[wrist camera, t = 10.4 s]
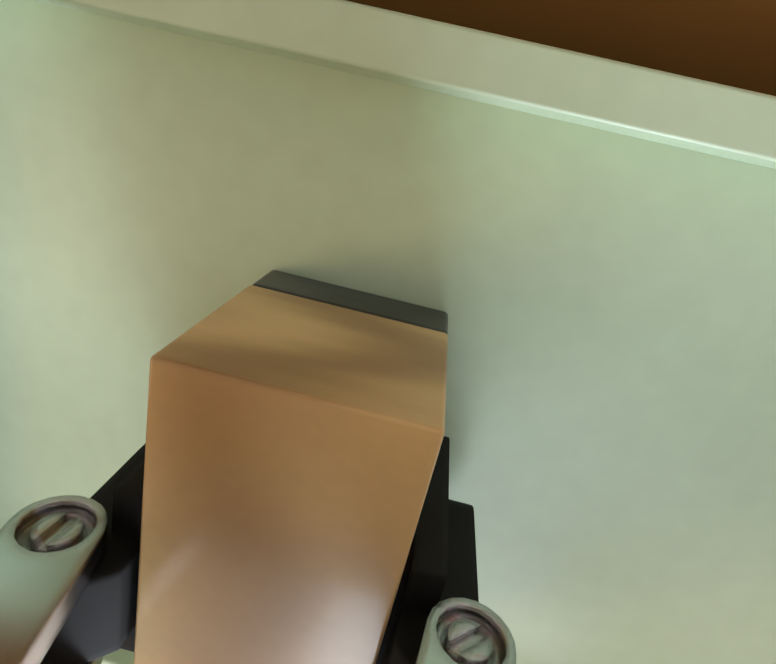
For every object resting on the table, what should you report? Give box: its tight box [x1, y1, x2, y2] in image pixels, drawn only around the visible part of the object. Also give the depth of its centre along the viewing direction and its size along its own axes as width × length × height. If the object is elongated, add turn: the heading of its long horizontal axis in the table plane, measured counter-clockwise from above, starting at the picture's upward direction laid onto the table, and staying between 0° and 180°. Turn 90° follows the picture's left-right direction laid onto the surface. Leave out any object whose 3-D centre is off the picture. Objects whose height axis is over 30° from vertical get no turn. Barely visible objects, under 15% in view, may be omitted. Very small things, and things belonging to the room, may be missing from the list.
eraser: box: [134, 270, 448, 664], centre depth 10 cm, size 4×8×4 cm, turn 167°
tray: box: [0, 0, 776, 664], centre depth 11 cm, size 26×16×2 cm, turn 78°
